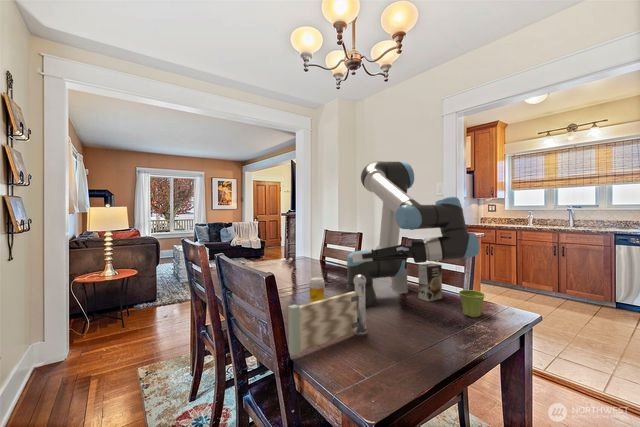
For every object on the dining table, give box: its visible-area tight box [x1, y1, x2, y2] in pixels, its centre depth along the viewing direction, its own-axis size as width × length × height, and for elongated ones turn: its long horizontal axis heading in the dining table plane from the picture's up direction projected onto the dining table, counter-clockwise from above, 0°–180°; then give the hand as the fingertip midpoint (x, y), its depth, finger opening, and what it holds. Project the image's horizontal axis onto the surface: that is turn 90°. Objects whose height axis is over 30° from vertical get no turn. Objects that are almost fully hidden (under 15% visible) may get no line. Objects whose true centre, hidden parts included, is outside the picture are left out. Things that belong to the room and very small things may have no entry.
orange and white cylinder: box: [309, 276, 326, 303], centre depth 117 cm, size 6×6×15 cm
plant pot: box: [458, 289, 486, 318], centre depth 115 cm, size 9×9×9 cm
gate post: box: [353, 274, 368, 337], centre depth 100 cm, size 5×5×21 cm
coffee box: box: [418, 262, 443, 302], centre depth 136 cm, size 9×6×16 cm
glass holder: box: [389, 261, 409, 295], centre depth 151 cm, size 9×14×15 cm, turn 23°
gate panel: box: [287, 291, 359, 356], centre depth 90 cm, size 26×2×14 cm, turn 127°
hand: (353, 258), depth 97 cm, fingers closed
